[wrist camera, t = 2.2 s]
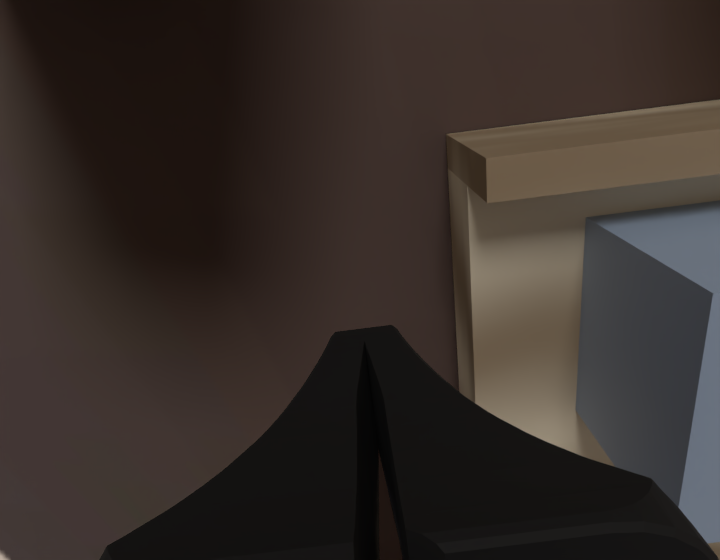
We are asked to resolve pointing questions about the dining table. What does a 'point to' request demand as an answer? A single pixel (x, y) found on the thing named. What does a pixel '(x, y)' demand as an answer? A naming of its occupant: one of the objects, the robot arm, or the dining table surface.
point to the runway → (555, 245)
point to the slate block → (656, 350)
